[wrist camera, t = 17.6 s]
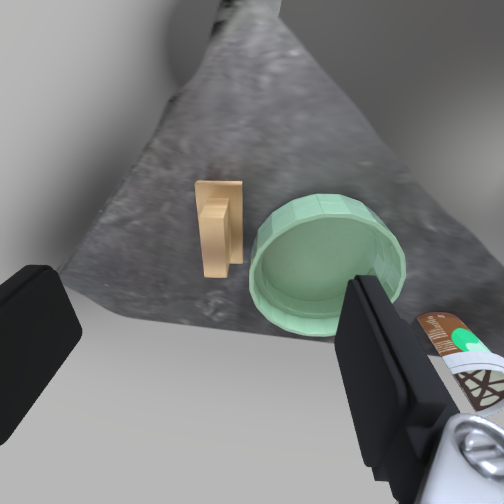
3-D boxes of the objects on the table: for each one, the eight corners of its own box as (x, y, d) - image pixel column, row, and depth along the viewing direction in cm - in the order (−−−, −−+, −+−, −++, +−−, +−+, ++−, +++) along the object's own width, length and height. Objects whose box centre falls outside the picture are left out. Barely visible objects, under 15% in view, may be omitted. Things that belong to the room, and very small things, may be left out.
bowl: (252, 190, 32) (249, 211, 27) (402, 193, 32) (428, 215, 27) (251, 302, 41) (249, 333, 36) (368, 306, 41) (383, 339, 35)
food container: (482, 342, 43) (534, 406, 35) (440, 357, 45) (481, 421, 37) (456, 291, 38) (511, 351, 30) (412, 310, 41) (450, 371, 32)
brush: (199, 177, 32) (182, 201, 25) (243, 177, 32) (237, 202, 25) (206, 252, 37) (193, 288, 31) (244, 253, 37) (239, 289, 30)
